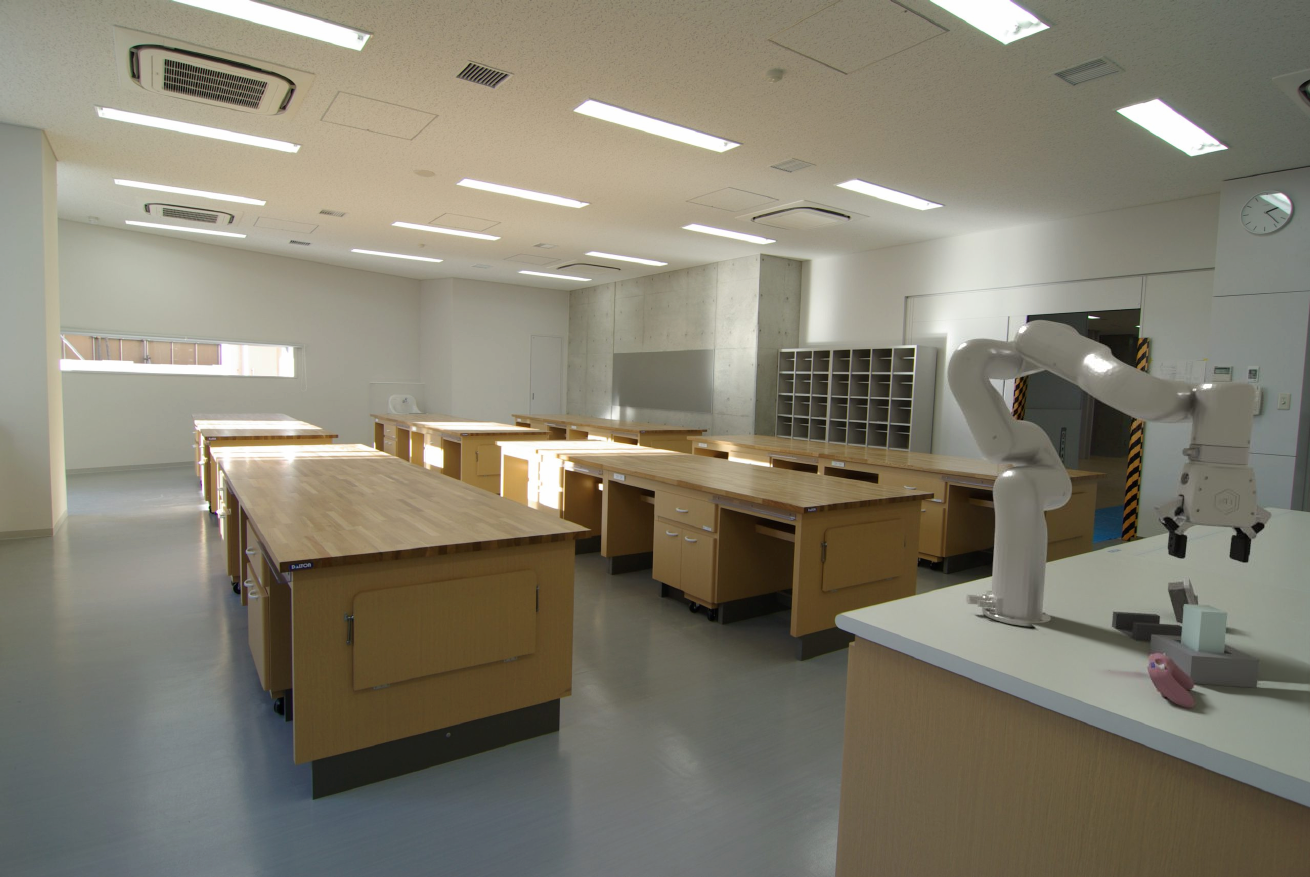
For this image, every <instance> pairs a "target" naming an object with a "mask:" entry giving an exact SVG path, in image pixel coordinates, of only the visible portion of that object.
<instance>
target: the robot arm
mask: <svg viewBox="0 0 1310 877" xmlns="http://www.w3.org/2000/svg"><path fill="white" fill-rule="evenodd" d="M1044 371H1048V372H1050V373H1052V374H1054V375H1056V376H1058V377H1059V378H1063V379H1064V380H1066V381H1068V382H1070V383H1072V384H1074V385H1076V386H1078V387H1079V388H1081V390H1082V391H1084V392H1086V393H1088V395H1090V396H1092V397H1093V398H1095V399H1096V400H1098V401H1100V402H1101V403H1103V404H1106V405H1107V406H1109V407H1111V408H1113V409H1115V410H1117V411H1120V412H1122V413H1123V414H1126V415H1128V416H1130V417H1132V418H1134V419H1136V420H1139V421H1142V422H1146V423H1156V424H1157V423H1160V424H1188V423H1191V425H1192V426H1191V430H1190V432H1191V433H1190V442H1189V443H1190V444H1189V447H1185V448H1183V449H1182V455H1183V456H1184V457H1187V461H1188V462H1184V464H1183V466H1182V468H1181V472H1180V475H1179V478H1178V481H1177V486H1176V490H1175V496H1174V497H1173V498H1171V499H1168V500H1166V501H1163V502H1161V503H1158V504H1156V505H1155V506H1154V510H1155V512H1156V514H1157V517H1158V521H1159V522H1160V524H1162V525H1163V527H1165V531H1167V532H1168V539H1167V540H1168V541H1167V550H1168V555H1169V556H1171V557H1174V558H1177V559H1186V555H1187V554H1186V552H1187V547H1188V545H1187V544H1188V535H1187V534H1184V533H1186V531H1188V530H1189V528H1190V527H1192V526H1193V525H1198V526H1204V527H1219V528H1220V527H1221V528H1231V529H1232V530H1233V532H1234V533H1235V534H1232V536H1231V537H1230V546H1229V548H1230V549H1229V558H1230V559H1231V560H1233V561H1237V562H1239V563H1243V564H1244V563H1245V564H1246V563H1249V561H1250V559H1249V558H1250V556H1251V548H1252V547H1251V546H1252V540H1255V539H1256V538H1257V535H1258V534H1259V533H1260V532H1262V531H1263V530H1264V529H1265V525H1267V523H1268V521H1269V520H1270V519H1271V517H1272V516H1273V515H1272V512H1270V511H1268V510H1267V509H1265V508H1263V507H1261V506H1259V505H1258V503H1257V501H1258V500H1257V496H1258V495H1257V494H1258V493H1257V481H1256V474H1255V469H1254V467H1251V466H1249V457H1250V451H1251V440H1252V439H1251V438H1252V430H1253V423H1254V414H1255V404H1256V393H1257V392H1256V388H1255V386H1254V385H1253V384H1251V383H1248V382H1243V381H1224V380H1223V381H1204V382H1199V383H1198V382H1190V381H1184V380H1183V381H1182V380H1175V379H1169V378H1159V377H1156V376H1154V375H1153V374H1149V373H1148V372H1145V371H1143V370H1140V369H1138V368H1136V367H1134V366H1131V365H1129V364H1127V363H1125V362H1123V361H1121V360H1120V359H1118V358H1116V357H1115V356H1114V355H1113V353H1112V349H1111V348H1110V347H1109V346H1108V345H1105V344H1103V343H1100V342H1099V341H1096V340H1093V339H1091V338H1088V337H1086V336H1083V335H1081V334H1080V333H1079V332H1078V330H1077V329H1075V328H1074V327H1073V326H1071V325H1069V324H1066V323H1061V322H1056V321H1052V320H1051V321H1050V320H1045V319H1044V320H1043V319H1037V320H1031V321H1029V322H1027V323H1025V324H1023V325H1022V326H1021V327H1020V328H1019V329H1018V330H1017V332H1016V333H1015V336H1014V339H1013V340H1011V341H1004V340H998V339H993V338H992V339H991V338H982V337H981V338H973V339H969V340H967V341H965V342H961V344H959V345H958V347H957V348H956V349H954V351H953V353H952V355H951V357H950V359H949V361H948V366H947V384H948V387H949V389H950V391H951V393H952V396H953V397H954V399H955V401H956V402H957V405H958V406H959V408H960V409H959V410H961V412H962V415H963V416H964V419H965V422H966V423H967V426H968V428H969V429H970V432H971V434H972V436H973V439H974V440H975V442H976V444H977V447H978V449H979V451H980V453H981V454H982V456H983V457H984V459H985V460H987V461H988V462H990V463H992V464H996V465H997V464H998V465H1012V467H1010V468H1008V469H1005V470H1003V471H1002V472H1001V473H1000V474H999V475H998V476H997V478H996V479H995V481H994V483H993V488H992V498H993V506H994V514H995V515H994V516H995V518H994V519H995V523H994V525H995V526H994V527H995V528H994V543H993V544H994V546H993V547H994V548H993V561H992V577H991V588H990V589H991V590H986V593H985V594H981V595H977V594H967V595H966V597H965V598H966V599H965V600H966V603H967V605H976V606H977V607H980V608H981V613H982V614H983V615H984V616H985V617H987V618H989V619H991V620H994V621H998V622H1001V623H1005V624H1007V625H1009V624H1010V625H1014V626H1019V627H1027V628H1028V627H1030V628H1035V627H1036V626H1034V624H1046V623H1048V622H1050V621H1051V620H1052V618H1051V616H1050V614H1048V613H1046V612H1044V611H1043V609H1044V608H1043V607H1044V596H1045V581H1046V568H1047V567H1046V566H1047V555H1048V554H1047V551H1048V525H1047V521H1046V516H1045V511H1053V510H1057V509H1060V508H1061V507H1063V506H1065V505H1066V504H1067V503H1068V502H1069V500H1071V497H1072V493H1073V492H1072V491H1073V485H1072V480H1071V477H1070V475H1069V473H1068V471H1067V469H1066V468H1065V465H1064V463H1063V462H1062V459H1061V458H1060V455H1059V454H1058V452H1057V451H1056V448H1055V447H1054V445H1053V443H1052V441H1051V439H1050V437H1049V436H1048V434H1047V433H1046V432H1045V430H1044V429H1042V427H1040V426H1039V425H1038V424H1036V423H1034V422H1032V421H1028V420H1019V419H1015V417H1014V416H1013V414H1012V412H1011V411H1010V409H1009V407H1008V404H1007V403H1006V400H1005V399H1004V397H1003V396H1002V394H1001V393H1000V392H999V390H997V389H996V387H995V386H994V385H993V384H992V382H991V380H999V381H1002V380H1003V381H1008V380H1013V379H1019V378H1022V377H1025V376H1029V375H1033V374H1036V373H1040V372H1044ZM1171 511H1173V516H1174V518H1172V517H1171V514H1170V512H1171Z"/></svg>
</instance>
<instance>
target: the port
mask: <svg viewBox="0 0 1310 877" xmlns="http://www.w3.org/2000/svg"><path fill="white" fill-rule="evenodd" d="M1149 647H1150V648H1149V655H1150V654H1155V653H1159V654H1164V653H1166V656H1168V657H1170V658H1171V659H1172V661H1173V662H1174V663H1175V664H1176V665H1177V666H1178V667H1179V668H1180V669H1181V670H1182V671H1184V672H1185V673H1186V674H1187V675H1188V676H1189V677H1190V678H1191V679H1192V681H1193V683H1194V685H1210V686H1211V685H1212V686H1224V687H1227V686H1228V687H1238V688H1239V687H1241V688H1253V689H1257V688H1258V677H1259V667H1260V666H1259V665H1260V660H1259V659H1257V658H1255V657H1253V656H1251V655H1249V654H1247V653H1244V652H1242V651H1241V650H1238V649H1236V648H1235V647H1232V646H1229V645H1227V644H1226V643H1225V646H1224V653H1209V652H1196V651H1194V650H1193V649H1191V648H1189V647H1187V646H1185V645H1183V644H1181V636H1170V635H1155V634H1151V642H1150V646H1149Z"/></svg>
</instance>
